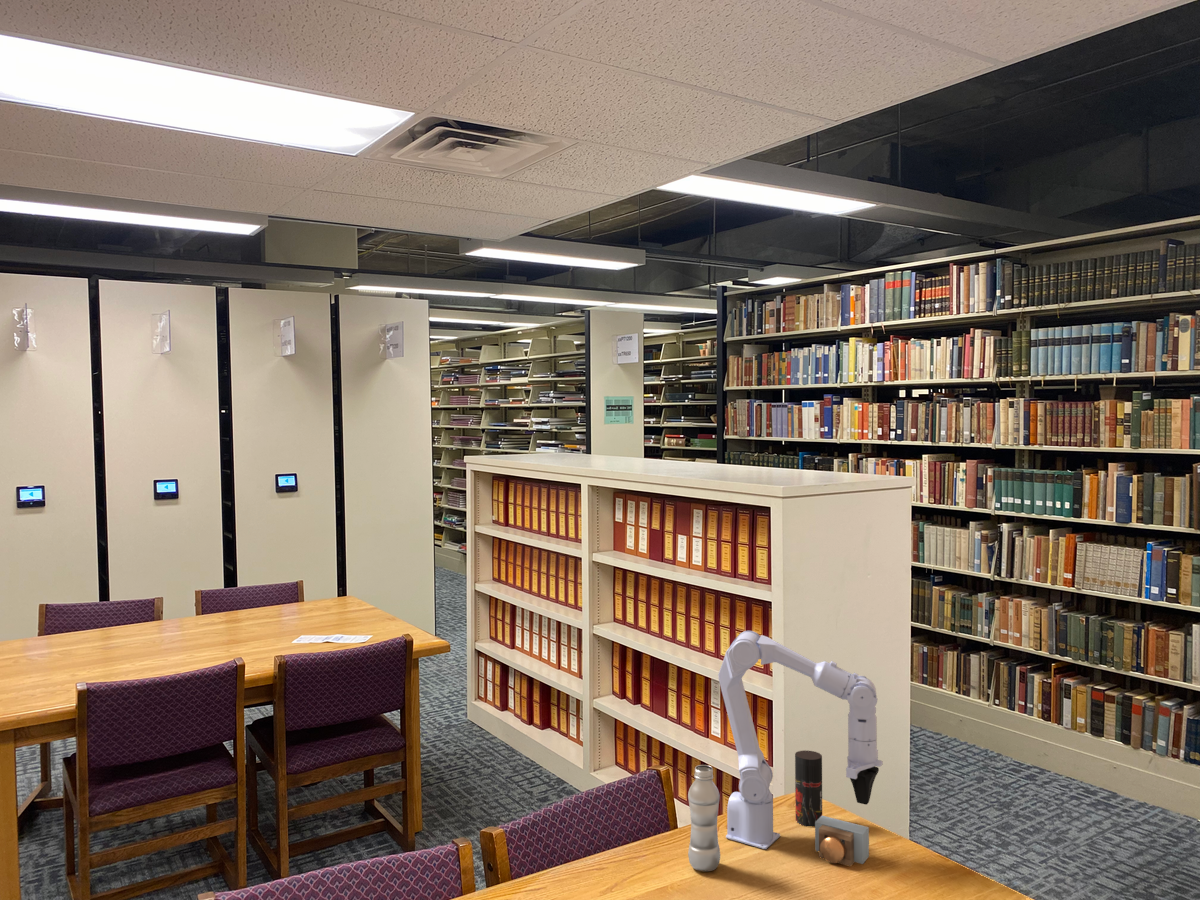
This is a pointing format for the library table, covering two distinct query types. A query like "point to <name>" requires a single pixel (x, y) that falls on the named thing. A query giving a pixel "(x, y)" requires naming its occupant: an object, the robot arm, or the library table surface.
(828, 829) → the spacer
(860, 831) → the bearing block
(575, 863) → the library table surface
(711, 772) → the plastic bottle
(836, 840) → the shaft
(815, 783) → the deodorant
